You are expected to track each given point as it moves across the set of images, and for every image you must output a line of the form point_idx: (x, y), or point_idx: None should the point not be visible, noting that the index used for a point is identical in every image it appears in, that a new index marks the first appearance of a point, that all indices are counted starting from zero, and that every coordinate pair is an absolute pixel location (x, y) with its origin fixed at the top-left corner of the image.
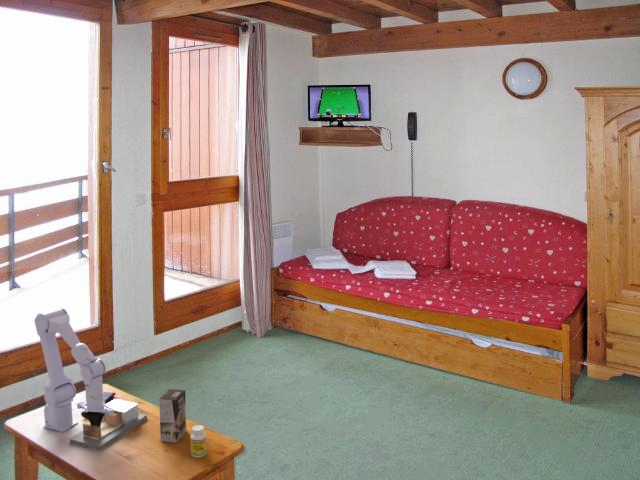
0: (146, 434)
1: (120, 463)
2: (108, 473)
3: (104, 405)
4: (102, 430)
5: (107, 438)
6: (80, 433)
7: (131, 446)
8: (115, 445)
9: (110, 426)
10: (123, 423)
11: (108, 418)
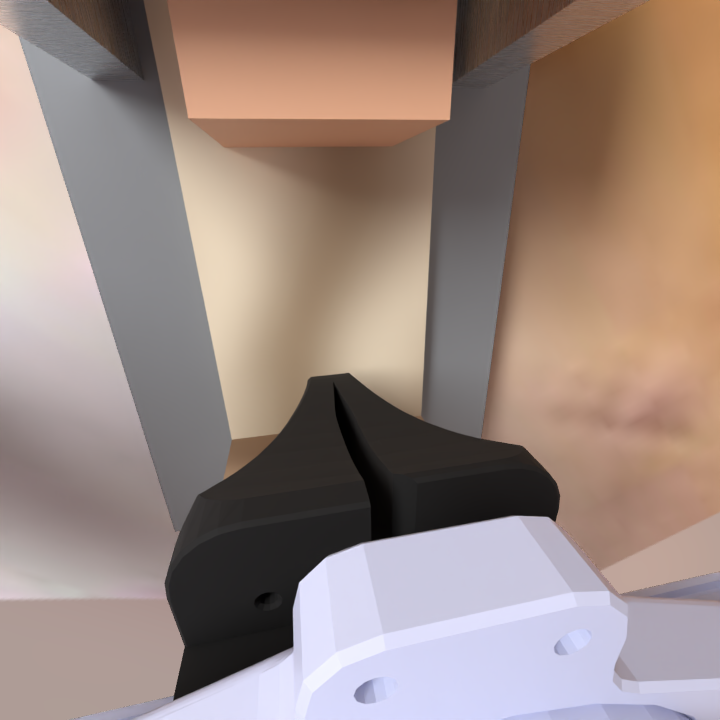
0: (692, 68)
1: (641, 481)
2: (620, 555)
3: (707, 693)
4: (335, 316)
5: (457, 376)
6: (159, 433)
7: (634, 314)
8: (519, 359)
9: (349, 196)
10: (489, 75)
11: (278, 134)
